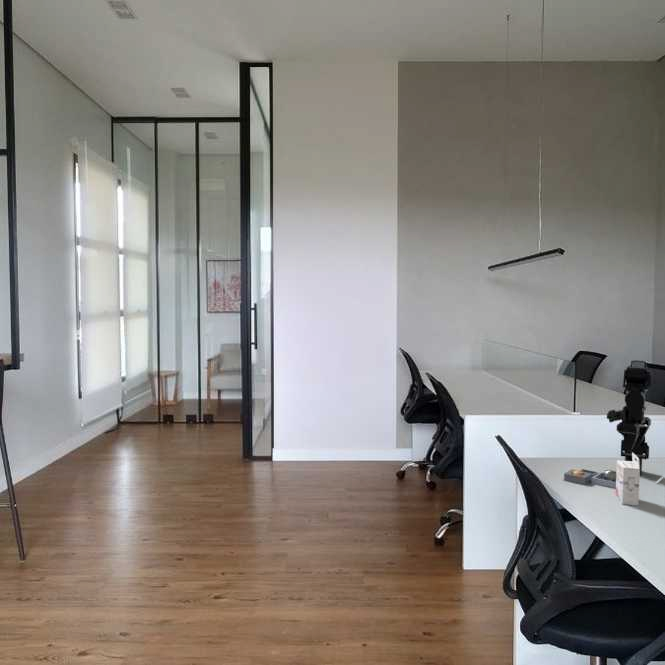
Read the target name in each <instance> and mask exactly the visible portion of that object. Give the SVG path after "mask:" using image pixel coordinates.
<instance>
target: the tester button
mask: <svg viewBox="0 0 665 665" xmlns="http://www.w3.org/2000/svg"><path fill="white" fill-rule="evenodd" d="M574 474H576V475H581V476H582V475H583V472H581V471H579V470H578V471H574Z"/></svg>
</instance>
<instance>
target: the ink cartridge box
mask: <svg viewBox="0 0 665 665" xmlns="http://www.w3.org/2000/svg"><path fill="white" fill-rule="evenodd" d="M635 458H636V460H637V462H636V461H635ZM616 475H617V476H616V489H615V496H616V497H617V498H618V501H619V502H620V503H621V505H627V506H639V501H640V500H639V498H640V477H641V476H640V464H639V458H638V457H637V456H636V455H635V454H634V453H633V452H632V461H625V460H616Z"/></svg>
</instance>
